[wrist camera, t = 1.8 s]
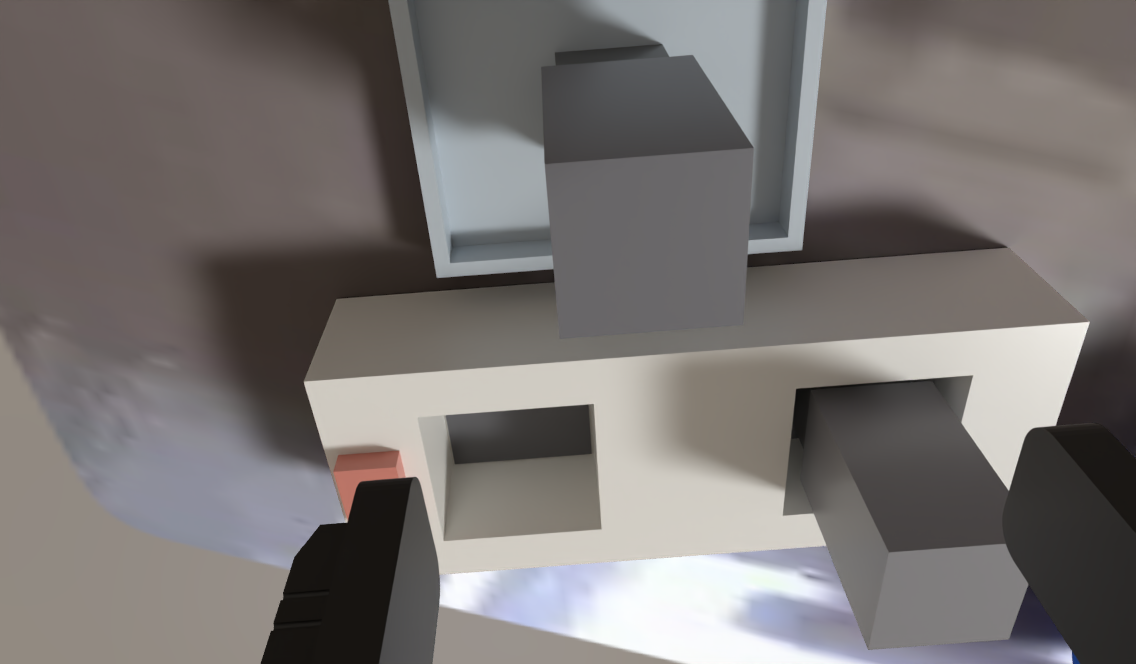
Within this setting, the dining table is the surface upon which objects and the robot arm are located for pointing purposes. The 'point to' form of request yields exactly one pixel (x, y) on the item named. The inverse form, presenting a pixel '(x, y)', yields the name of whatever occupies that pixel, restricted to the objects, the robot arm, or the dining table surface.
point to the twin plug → (908, 514)
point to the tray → (515, 114)
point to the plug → (643, 194)
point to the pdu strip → (668, 402)
